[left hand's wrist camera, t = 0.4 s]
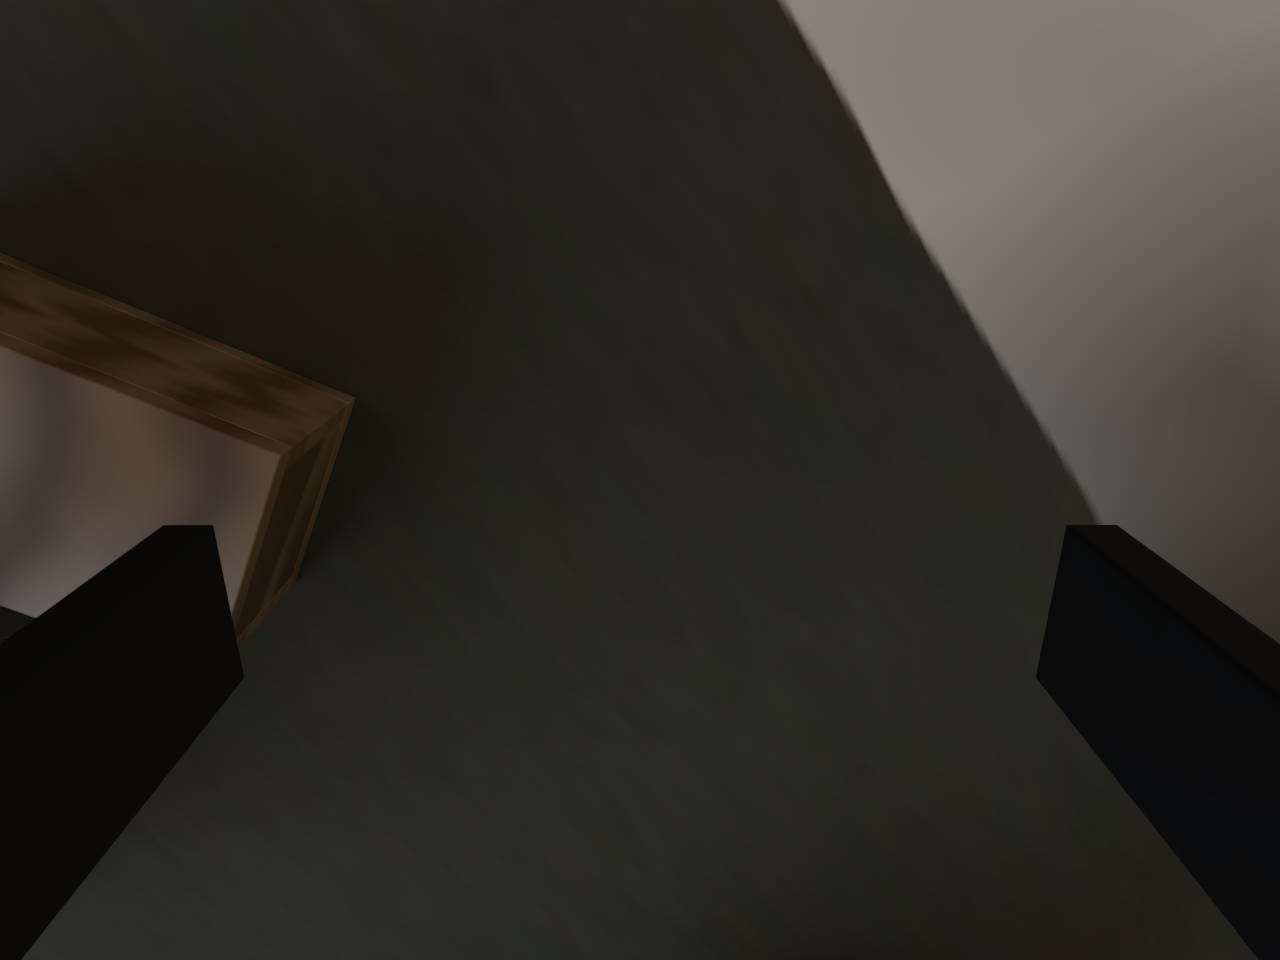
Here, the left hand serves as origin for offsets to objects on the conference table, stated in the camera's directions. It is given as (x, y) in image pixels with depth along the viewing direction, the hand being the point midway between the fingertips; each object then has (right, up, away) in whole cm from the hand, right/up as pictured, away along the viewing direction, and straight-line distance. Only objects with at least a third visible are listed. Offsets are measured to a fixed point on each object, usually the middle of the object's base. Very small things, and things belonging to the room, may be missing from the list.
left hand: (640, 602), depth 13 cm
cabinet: (-24, +5, +27) cm, 37 cm away
